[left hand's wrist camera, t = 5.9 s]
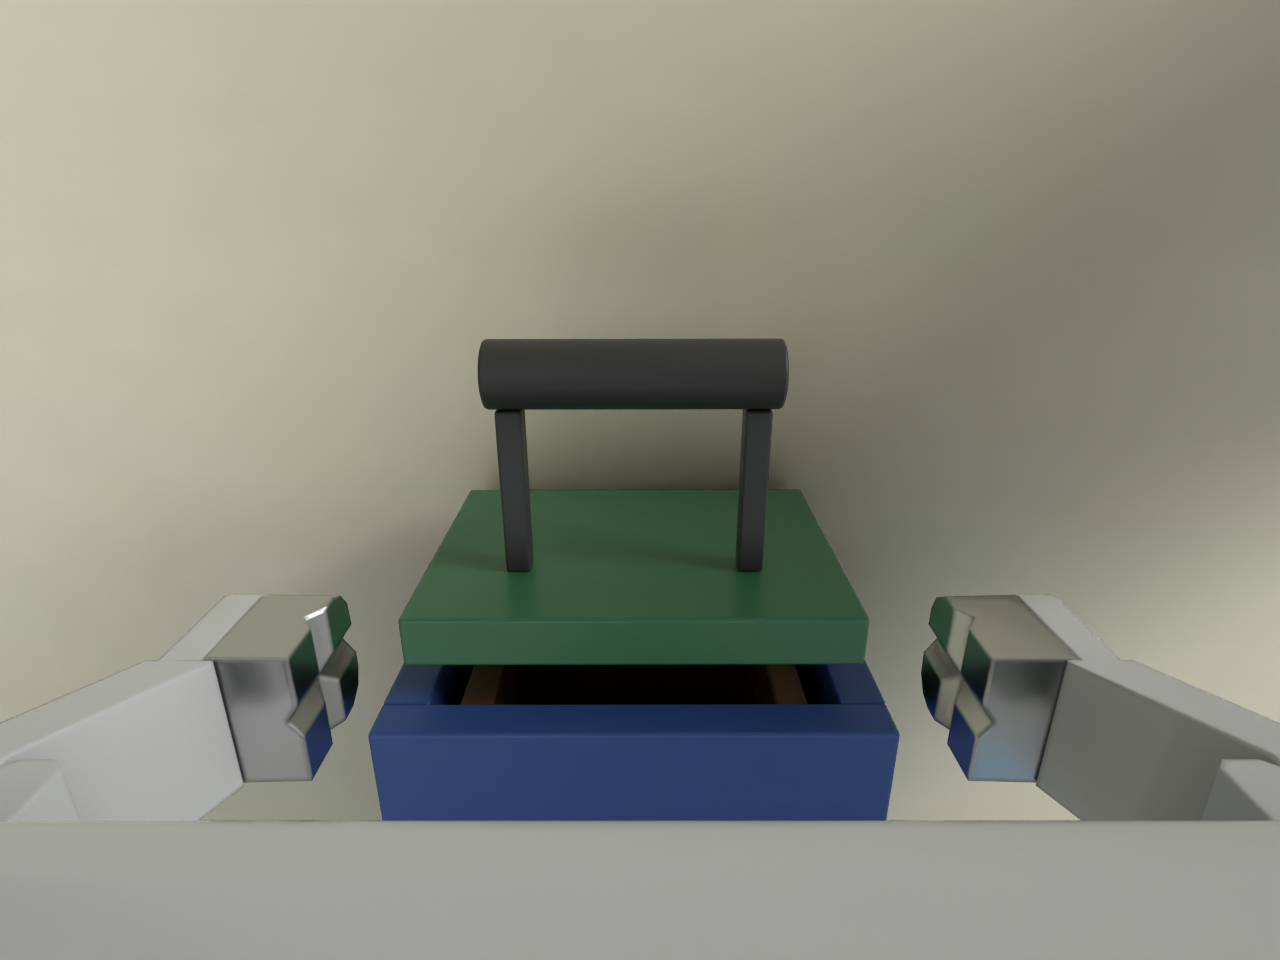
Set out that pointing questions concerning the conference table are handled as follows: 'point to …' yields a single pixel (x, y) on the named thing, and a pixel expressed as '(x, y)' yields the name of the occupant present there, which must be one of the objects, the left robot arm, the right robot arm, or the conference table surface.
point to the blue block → (634, 755)
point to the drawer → (634, 549)
